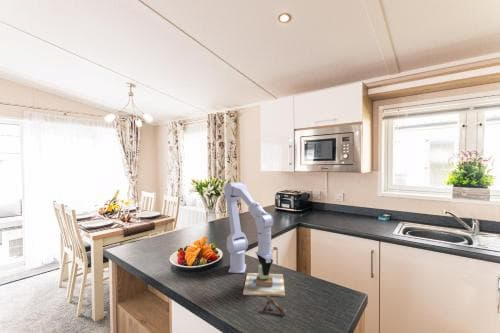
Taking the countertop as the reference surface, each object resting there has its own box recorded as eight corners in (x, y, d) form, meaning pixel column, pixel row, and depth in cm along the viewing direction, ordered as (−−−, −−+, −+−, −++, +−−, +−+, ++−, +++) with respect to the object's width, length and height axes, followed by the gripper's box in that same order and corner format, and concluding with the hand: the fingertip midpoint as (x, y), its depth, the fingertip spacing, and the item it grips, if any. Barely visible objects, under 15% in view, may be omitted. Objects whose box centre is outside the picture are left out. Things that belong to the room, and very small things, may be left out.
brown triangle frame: (265, 303, 91) (269, 293, 90) (282, 319, 86) (286, 309, 85) (262, 305, 89) (266, 295, 88) (279, 321, 85) (284, 312, 84)
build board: (247, 274, 116) (247, 268, 116) (282, 276, 114) (282, 269, 114) (243, 294, 98) (243, 287, 98) (285, 296, 96) (285, 289, 96)
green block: (258, 274, 108) (258, 263, 108) (267, 274, 108) (267, 263, 108) (260, 279, 104) (260, 267, 104) (269, 278, 104) (269, 266, 104)
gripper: (252, 237, 112) (252, 266, 113) (259, 248, 98) (259, 281, 98) (267, 236, 114) (267, 265, 114) (275, 247, 99) (275, 279, 99)
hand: (264, 272), depth 106 cm, fingers open, 4 cm apart
